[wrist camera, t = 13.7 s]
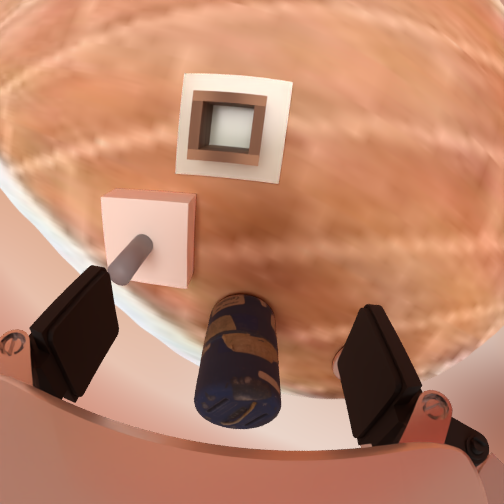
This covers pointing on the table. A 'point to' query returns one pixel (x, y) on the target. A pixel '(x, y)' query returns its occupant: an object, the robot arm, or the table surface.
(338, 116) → the table surface
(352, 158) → the table surface
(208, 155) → the hollow wooden box
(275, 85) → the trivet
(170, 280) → the post stand
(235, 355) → the canister
